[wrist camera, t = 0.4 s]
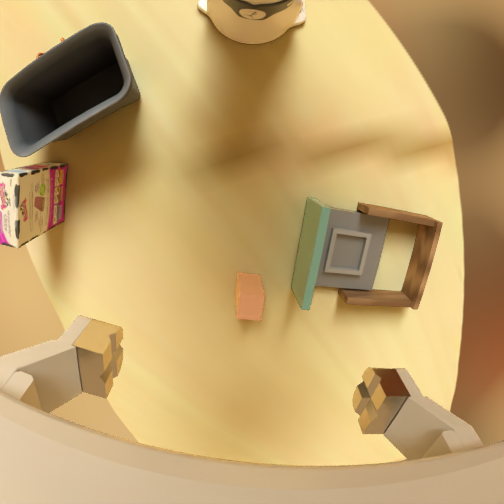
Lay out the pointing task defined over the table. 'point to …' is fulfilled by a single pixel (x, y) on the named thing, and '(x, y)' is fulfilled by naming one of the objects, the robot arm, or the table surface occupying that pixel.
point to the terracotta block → (249, 297)
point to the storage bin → (67, 89)
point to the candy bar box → (31, 201)
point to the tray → (336, 250)
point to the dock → (417, 265)
